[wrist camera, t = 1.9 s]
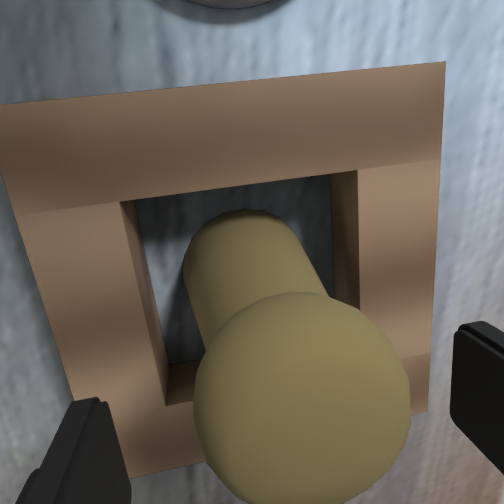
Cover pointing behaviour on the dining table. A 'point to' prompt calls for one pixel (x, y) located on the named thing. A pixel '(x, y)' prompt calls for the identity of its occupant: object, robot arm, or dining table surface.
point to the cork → (287, 370)
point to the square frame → (213, 177)
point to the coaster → (230, 3)
